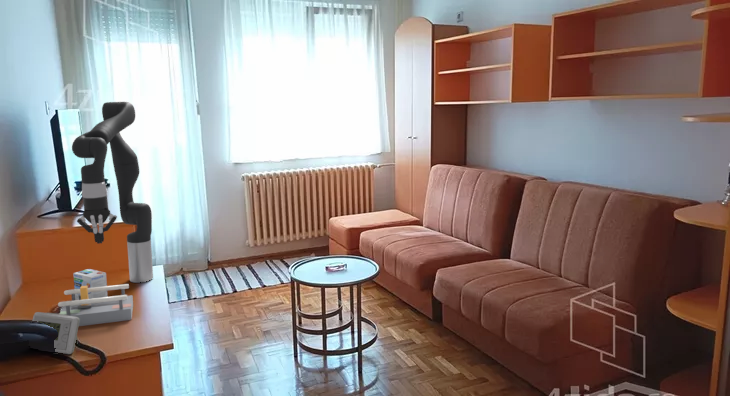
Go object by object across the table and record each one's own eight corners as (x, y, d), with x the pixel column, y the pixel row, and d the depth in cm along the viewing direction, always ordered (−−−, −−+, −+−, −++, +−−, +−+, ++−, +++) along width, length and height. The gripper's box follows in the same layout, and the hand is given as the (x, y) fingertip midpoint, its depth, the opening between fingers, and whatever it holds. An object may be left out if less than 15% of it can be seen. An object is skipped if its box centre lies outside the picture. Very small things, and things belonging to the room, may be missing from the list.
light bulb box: (74, 300, 198) (72, 272, 196) (91, 294, 203) (88, 268, 202) (92, 305, 193) (90, 277, 191) (108, 299, 199) (106, 272, 197)
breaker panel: (65, 313, 184) (63, 289, 183) (133, 305, 192) (131, 282, 191) (58, 328, 172) (56, 303, 170) (131, 319, 180) (129, 295, 178)
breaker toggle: (79, 304, 181) (78, 285, 180) (92, 303, 183) (91, 284, 181) (78, 309, 177) (76, 289, 176) (91, 307, 179) (89, 288, 178)
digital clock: (24, 349, 157) (21, 316, 155) (53, 337, 165) (50, 306, 163) (59, 360, 150) (56, 326, 148) (87, 348, 158) (85, 315, 156)
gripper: (116, 191, 185) (120, 238, 189) (74, 194, 181) (80, 242, 184) (115, 195, 179) (119, 243, 182) (71, 198, 174) (77, 247, 177)
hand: (99, 242), depth 183 cm, fingers closed
